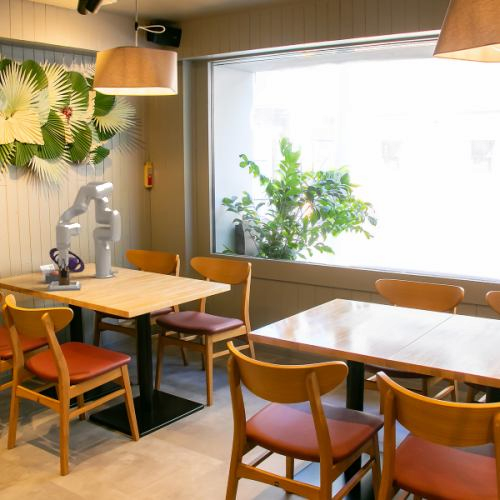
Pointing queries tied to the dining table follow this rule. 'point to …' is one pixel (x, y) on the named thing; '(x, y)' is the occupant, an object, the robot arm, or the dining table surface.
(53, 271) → the button
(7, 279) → the dining table surface
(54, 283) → the tray
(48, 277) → the button housing
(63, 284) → the condiment
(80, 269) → the decorative bottle
